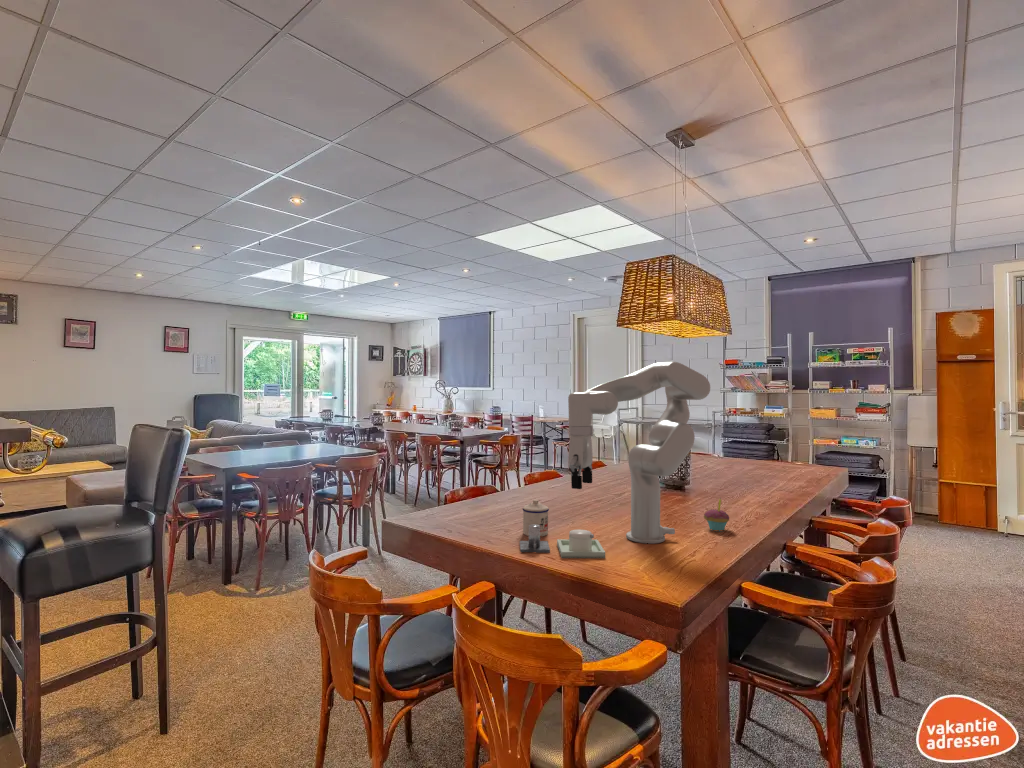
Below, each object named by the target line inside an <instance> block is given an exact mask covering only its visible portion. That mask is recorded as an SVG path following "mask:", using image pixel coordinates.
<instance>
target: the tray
mask: <svg viewBox="0 0 1024 768" xmlns="http://www.w3.org/2000/svg"><path fill="white" fill-rule="evenodd" d="M556 547H557V549H558V552H559V555H560V558H561V559H606V551H605V549H604V548H603V546H602V544H601V543H600V541H599V540H598V539H592V550H591V551H571V550H570V549H569V538H568V539H564V538H563V539H562V538H561V539H558V538H557V539H556Z"/></svg>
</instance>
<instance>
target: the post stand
mask: <svg viewBox="0 0 1024 768" xmlns="http://www.w3.org/2000/svg"><path fill="white" fill-rule="evenodd" d="M519 549H520V550H519V551H520V552H536V553H537V554H541V553H542V554H549V553H551V549H550V545H549V541H548V540H541V537H540V525H535V524H533V525H529V536H528V540H519ZM520 552H519V553H520ZM536 553H535V554H536Z"/></svg>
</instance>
